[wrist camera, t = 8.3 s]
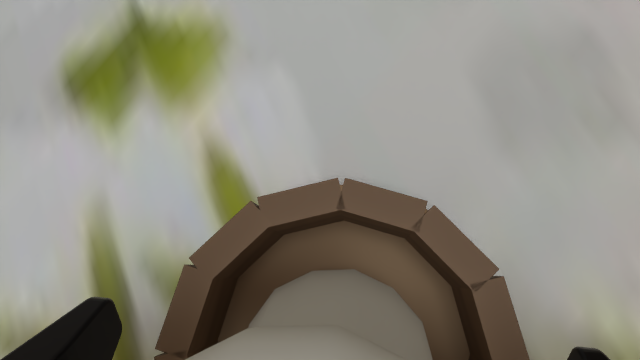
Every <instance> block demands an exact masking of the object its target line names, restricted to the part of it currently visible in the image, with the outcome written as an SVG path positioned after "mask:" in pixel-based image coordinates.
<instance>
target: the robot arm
mask: <svg viewBox="0 0 640 360" xmlns="http://www.w3.org/2000/svg"><path fill="white" fill-rule="evenodd" d="M121 332H122V324H121V321H120V318H119V315H118V312H117V310H116V307H115V304H114V302H113V301H112V300H111V299H109V298H102V297H91V298H89V299H87V300H85V301H84V302H82V303H81V304H80V305H78V306H77V307H75V308H74V309H72V310H71V311H70V312H68V313H67V314H65V315H64V316H62V317H61V318H60V319H58V320H57V321H55V322H54V323H52V324H51V325H50V326H48V327H47V328H45V329H44V330H42V331H41V332H40V333H38V334H37V335H35V336H34V337H32V338H31V339H30V340H28V341H27V342H25V343H24V344H22V345H21V346H19V347H18V348H17V349H15V350H14V351H12V352H11V353H9V354H8V355H7V356H5V357H4V358H2V359H1V360H112V358H113V355H114V352H115V350H116V347H117V344H118V342H119V339H120V336H121ZM567 360H610V359H609V358H608V357H607V356H606V355H605V354H604V353H603V352H602V351H600V350H598V349H595V348H586V347H575V348H574V349H573V350H572V351H571V353H570V355H569V357H568V359H567Z"/></svg>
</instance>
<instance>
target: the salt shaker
mask: <svg viewBox="0 0 640 360" xmlns="http://www.w3.org/2000/svg"><path fill="white" fill-rule="evenodd" d="M185 360H433V359H432V355H431V351H430V348H429V344H428V341H427V337H426V333H425V330H424V326H423V323H422V321H421V320H420V319H419V318H418V316H417V315H416V314H415V313H414V312H413V311H412V309H411V308H410V307H409V306H408V305H407V304H406V302H405V301H404V300H403V299H402V298H401V297H400V295H399V294H398V293H397V292H396V291H395V290H394V288H392V287H390V286H388V285H386V284H384V283H382V282H380V281H377V280H375V279H373V278H371V277H369V276H367V275H365V274H363V273H361V272H359V271H357V270H355V269H347V270H319V271H311V272H309V273H307V274H305V275H303V276H301V277H299V278H297V279H295V280H293V281H291V282H288V283H286V284H284V285H282V286H280V287H278V288H276V289H275V290H274V291H273V292H272V294H271V295H270V296H269V298H268V299H267V301H266V302H265V303H264V305H263V306H262V307H261V309H260V310H259V312H258V313H257V314H256V316H255V317H254V318H253V320H252V321H251V323H250V324H249V327H248V329H245V330H243V331H241V332H239V333H237V334H235V335H233V336H231V337H229V338H227V339H225V340H223V341H221V342H219V343H217V344H215V345H213V346H211V347H209V348H207V349H205V350H203V351H201V352H199V353H197V354H195V355H193V356H191V357H189V358H187V359H185Z"/></svg>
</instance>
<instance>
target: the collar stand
mask: <svg viewBox="0 0 640 360" xmlns="http://www.w3.org/2000/svg"><path fill="white" fill-rule="evenodd" d="M257 198H258V203H259V206H258V205H257V204H255V203H253V202H252V201H250V202H249V203H248V204H247V205H246V206H245V207H244V208H243V209H241V210H240V211H239V212H238V213H237V214H236V215H235V216H234V217H233V218H232V219H231V220H230V221H228V222H227V223H226V224H225V225H224V226H223V227H222V228H221V229H220V230H219V231H218V232H217V233H215V234H214V235H213V236H212V237H211V238H210V239H209V240H208V241H207V242H206V243H205V244H204V245H202V246H201V247H200V248H199V249H198V250H197V251H196V252H195V253H194V254H193V255H192V256H191V257H189V259H190V260H191V261H192V263H193V264H194V265H184V267H183V270H182V273H181V276H180V279H179V282H178V285H177V287H176V290H175V293H174V296H173V299H172V302H171V304H170V307H169V310H168V313H167V316H166V319H165V322H164V324H163V327H162V330H161V333H160V336H159V339H158V342H157V344H156V347H155V349H157V350H159V351H162V352H165V353H163V354H160V355H158V356H155V357H154V360H185V359H187V358H189V357H191V356H193V355H195V354H197V353H199V352H201V351H203V350H205V349H207V348H209V347H211V346H213V345H215V344H217V343H219V342H221V341H223V340H225V339H227V338H229V337H231V336H233V335H235V334H237V333H239V332H241V331H243V330H245V329H248V327H249V324H250V323H251V321H252V320H253V318H254V317H255V316H256V314H257V313H258V312H259V310H260V309H261V307H262V306H263V305H264V303H265V302H266V301H267V299H268V298H269V296H270V295H271V294H272V292H273V291H274V290H275V289H276V288H278V287H280V286H282V285H284V284H286V283H288V282H291V281H293V280H295V279H297V278H299V277H301V276H303V275H305V274H307V273H309V272H311V271H319V270H347V269H355V270H357V271H359V272H361V273H363V274H365V275H367V276H369V277H371V278H373V279H375V280H377V281H380V282H382V283H384V284H386V285H388V286H390V287H392V288H394V290H395V291H396V292H397V293H398V294H399V295H400V297H401V298H402V299H403V300H404V301H405V302H406V304H407V305H408V306H409V307H410V308H411V309H412V311H413V312H414V313H415V314H416V315H417V316H418V318H419V319H420V320H421V321H422V323H423V326H424V330H425V333H426V337H427V341H428V344H429V348H430V351H431V355H432V359H433V360H529V356H528V353H527V350H526V347H525V344H524V340H523V337H522V334H521V331H520V327H519V324H518V321H517V318H516V314H515V311H514V308H513V305H512V301H511V298H510V295H509V292H508V288H507V285H506V282H505V279H504V276H493V275H494V274H495V273H496V272H497V271H498V270H499V268H498V267H497V266H496V265H495V264H494V263H493V262H492V261H491V260H490V259H489V258H488V257H486V256H485V255H484V254H483V253H482V252H481V251H480V250H479V249H478V248H477V247H476V246H475V245H474V244H473V243H472V242H471V241H470V240H469V239H468V238H467V237H466V236H465V235H464V234H463V233H462V232H461V231H460V230H459V229H458V228H457V227H456V226H455V225H454V224H453V223H452V222H451V221H450V220H449V219H448V218H447V217H446V216H445V215H444V214H443V213H442V212H441V211H440V210H439V209H438V208H437V207H436V206H435V205H434V206H433V207H432V208H431V209H429V210H427V209H426V205H427V201H425V200H422V199H418V198H414V197H411V196H407V195H404V194H400V193H397V192H393V191H390V190H386V189H383V188H379V187H376V186H372V185H368V184H365V183H361V182H358V181H354V180H351V179H347V178H345V181H344V184H343V185H340V184H339V180H338V178H335V179H331V180H327V181H323V182H319V183H314V184H310V185H306V186H302V187H298V188H294V189H290V190H286V191H281V192H277V193H273V194H269V195H265V196H261V197H257Z"/></svg>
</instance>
